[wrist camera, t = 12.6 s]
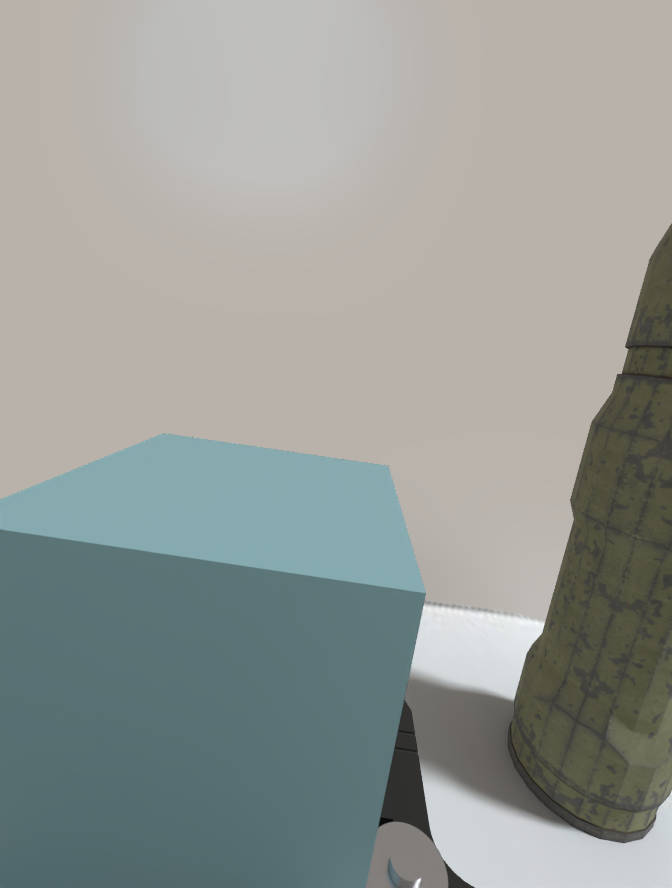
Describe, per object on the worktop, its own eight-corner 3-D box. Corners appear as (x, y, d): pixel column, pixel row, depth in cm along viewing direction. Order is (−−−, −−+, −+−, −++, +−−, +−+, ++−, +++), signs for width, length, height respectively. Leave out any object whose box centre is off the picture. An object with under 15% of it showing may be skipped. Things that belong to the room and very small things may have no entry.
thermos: (546, 862, 22) (792, 113, 14) (485, 688, 34) (603, 219, 26) (716, 893, 22) (1063, 142, 14) (596, 706, 33) (749, 236, 26)
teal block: (309, 927, 12) (388, 465, 9) (278, 1316, 7) (425, 593, 4) (140, 900, 12) (163, 433, 9) (-5, 1265, 7) (-54, 521, 4)
